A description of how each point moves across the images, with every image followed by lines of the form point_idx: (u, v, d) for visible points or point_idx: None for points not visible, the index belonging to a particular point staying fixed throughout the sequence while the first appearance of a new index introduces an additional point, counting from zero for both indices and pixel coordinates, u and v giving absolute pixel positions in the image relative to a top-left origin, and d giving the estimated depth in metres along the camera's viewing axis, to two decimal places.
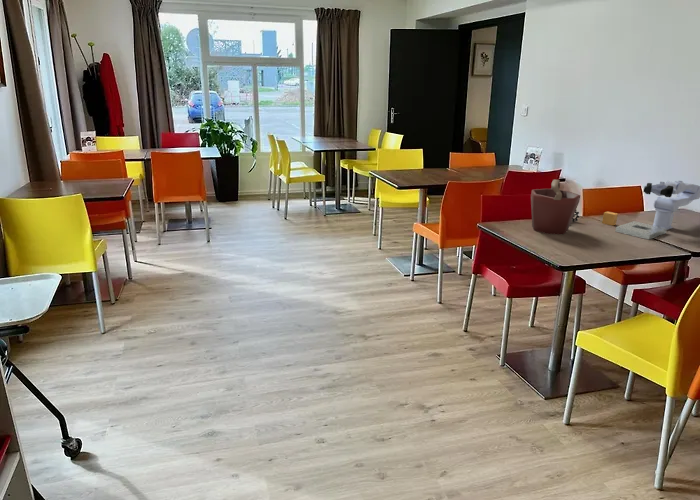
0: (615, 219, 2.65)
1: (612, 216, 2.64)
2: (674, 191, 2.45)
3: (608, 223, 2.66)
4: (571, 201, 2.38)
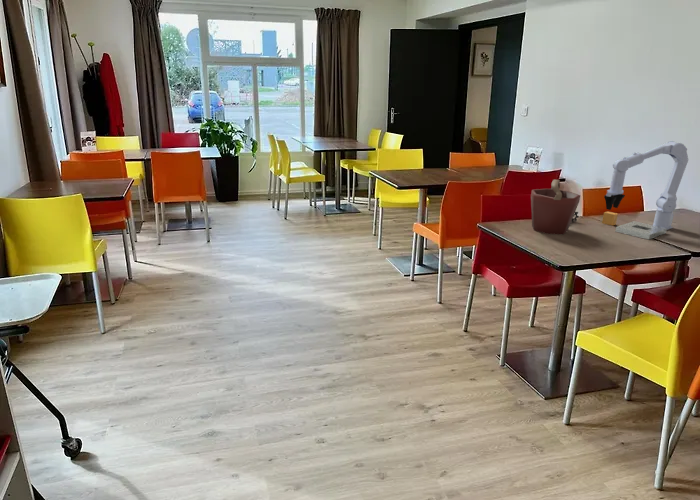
0: (615, 219, 2.65)
1: (612, 216, 2.64)
2: (607, 196, 2.59)
3: (608, 223, 2.66)
4: (571, 201, 2.38)
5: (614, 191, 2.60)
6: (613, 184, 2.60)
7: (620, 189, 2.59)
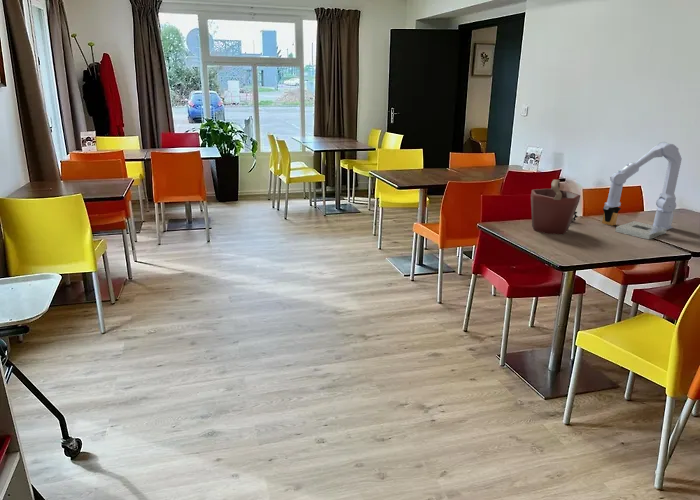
0: (615, 219, 2.65)
1: (612, 216, 2.64)
2: (605, 208, 2.61)
3: (608, 223, 2.66)
4: (571, 201, 2.38)
5: (611, 204, 2.62)
6: (610, 197, 2.62)
7: (617, 202, 2.62)
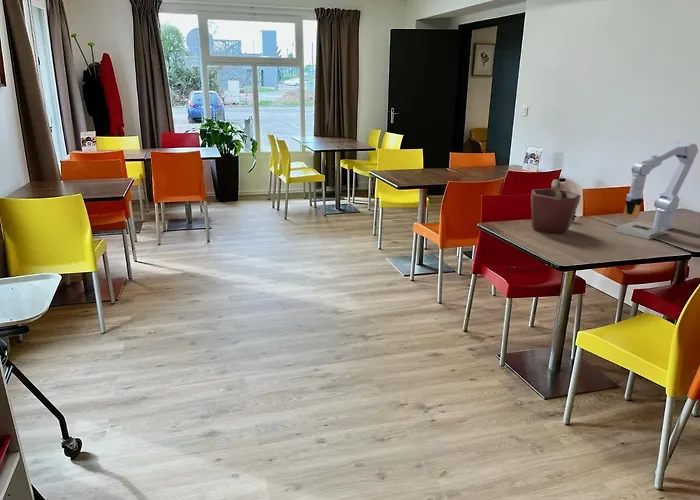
0: (637, 211, 2.55)
1: (634, 208, 2.54)
2: (627, 200, 2.51)
3: (630, 215, 2.56)
4: (571, 201, 2.38)
5: (634, 195, 2.52)
6: (633, 188, 2.52)
7: (640, 193, 2.51)
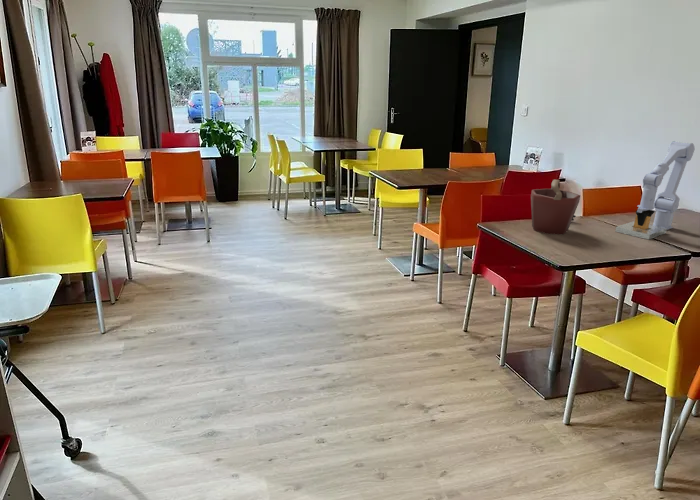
0: (648, 223, 2.51)
1: (645, 219, 2.50)
2: (638, 212, 2.47)
3: (640, 227, 2.52)
4: (571, 201, 2.38)
5: (645, 207, 2.48)
6: (644, 199, 2.48)
7: (651, 205, 2.47)
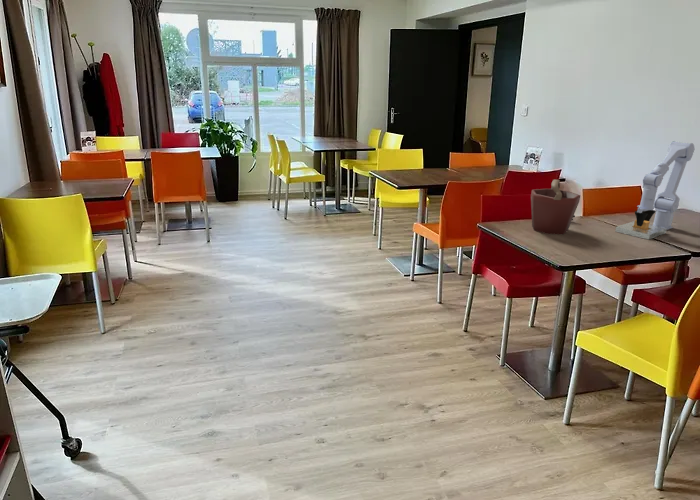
0: (647, 227, 2.52)
1: (644, 224, 2.51)
2: None
3: None
4: (571, 201, 2.38)
5: (645, 207, 2.48)
6: (644, 200, 2.48)
7: (651, 205, 2.47)
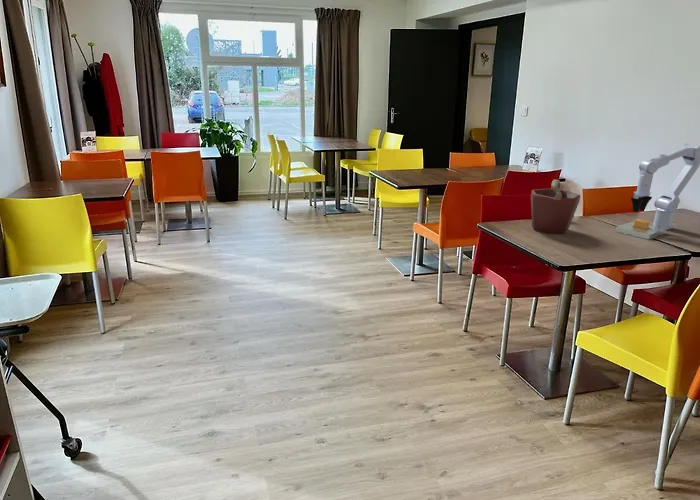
0: (647, 227, 2.52)
1: (644, 224, 2.51)
2: (635, 198, 2.52)
3: None
4: (571, 201, 2.38)
5: (641, 193, 2.53)
6: (640, 186, 2.53)
7: (648, 191, 2.52)
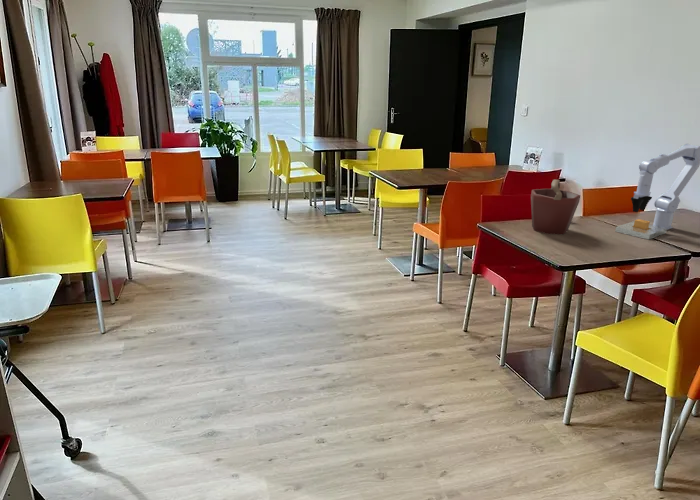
0: (647, 227, 2.52)
1: (644, 224, 2.51)
2: (635, 198, 2.52)
3: None
4: (571, 201, 2.38)
5: (641, 193, 2.53)
6: (640, 186, 2.53)
7: (648, 191, 2.52)
